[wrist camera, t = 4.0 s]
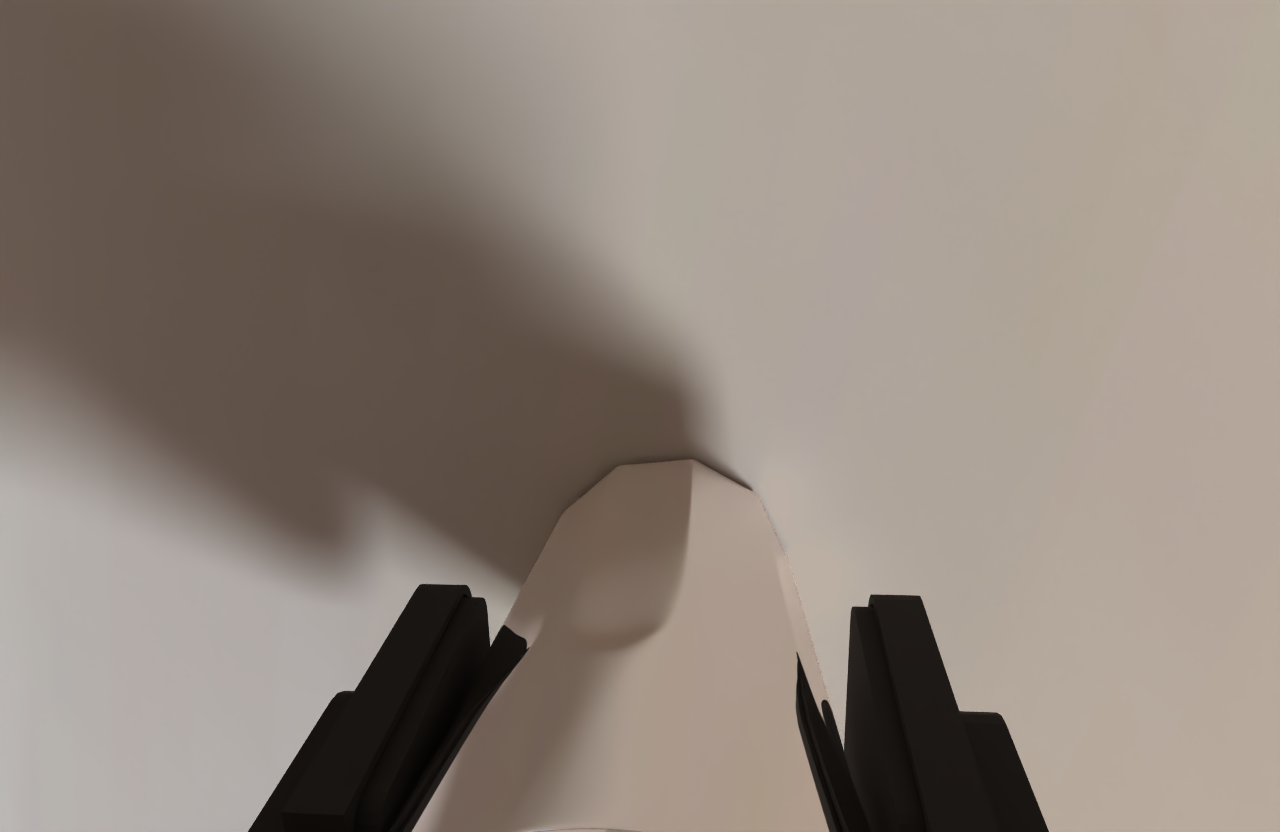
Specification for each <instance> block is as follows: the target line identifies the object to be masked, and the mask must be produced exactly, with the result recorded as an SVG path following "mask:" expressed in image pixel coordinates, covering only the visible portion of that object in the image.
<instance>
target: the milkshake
mask: <svg viewBox="0 0 1280 832" xmlns="http://www.w3.org/2000/svg"><path fill="white" fill-rule="evenodd" d="M387 832H871V830H870V827H869V824H868V821H867V818H866V815H865V812H864V810H863V807H862V804H861V801H860V798H859V796H858V793H857V791H856V788H855V786H854V783H853V780H852V777H851V774H850V771H849V767H848V764H847V760H846V757H845V753H844V750H843V747H842V743H841V740H840V736H839V733H838V729H837V726H836V722H835V719H834V715H833V712H832V708H831V705H830V701H829V698H828V694H827V691H826V687H825V684H824V680H823V677H822V673H821V670H820V666H819V663H818V659H817V656H816V652H815V649H814V645H813V642H812V638H811V635H810V631H809V628H808V624H807V621H806V617H805V614H804V610H803V607H802V603H801V600H800V596H799V593H798V589H797V586H796V582H795V579H794V576H793V572H792V569H791V565H790V562H789V559H788V557H787V555H786V553H785V551H784V549H783V547H782V544H781V542H780V540H779V538H778V536H777V534H776V532H775V529H774V527H773V525H772V523H771V521H770V519H769V516H768V514H767V512H766V510H765V508H764V505H763V503H762V501H761V499H760V497H759V495H758V494H756V493H754V492H753V491H751V490H749V489H747V488H745V487H743V486H741V485H740V484H738V483H736V482H734V481H732V480H730V479H728V478H727V477H725V476H723V475H721V474H719V473H718V472H716V471H714V470H712V469H710V468H709V467H707V466H705V465H703V464H701V463H700V462H698V461H696V460H694V459H687V460H676V461H665V462H654V463H642V464H629V465H618V466H617V467H616V468H615V469H613V470H612V471H611V472H610V473H609V474H608V475H606V476H605V477H604V478H603V479H602V480H601V481H599V482H598V483H597V484H596V485H595V486H594V487H592V488H591V489H590V490H589V491H588V492H586V493H585V494H584V495H583V496H582V497H581V498H579V499H578V500H577V501H576V502H575V503H573V504H572V505H571V506H570V507H569V508H567V509H566V510H565V511H564V512H563V514H562V515H561V517H560V519H559V521H558V522H557V524H556V526H555V528H554V530H553V532H552V534H551V535H550V537H549V539H548V541H547V543H546V545H545V547H544V548H543V550H542V552H541V554H540V556H539V558H538V560H537V561H536V563H535V565H534V567H533V569H532V571H531V573H530V574H529V576H528V578H527V580H526V582H525V584H524V586H523V587H522V589H521V591H520V593H519V595H518V597H517V599H516V600H515V602H514V604H513V606H512V608H511V610H510V612H509V613H508V615H507V617H506V619H505V621H504V623H503V625H502V626H501V628H500V630H499V632H498V634H497V636H496V638H495V640H494V641H493V643H492V645H491V647H490V649H489V651H488V653H487V654H486V656H485V658H484V660H483V662H482V664H481V666H480V668H479V669H478V671H477V673H476V675H475V677H474V679H473V681H472V683H471V685H470V686H469V688H468V690H467V692H466V694H465V696H464V698H463V700H462V702H461V704H460V706H459V707H458V709H457V711H456V713H455V715H454V717H453V719H452V721H451V722H450V724H449V726H448V728H447V730H446V731H445V733H444V735H443V737H442V739H441V740H440V742H439V744H438V746H437V747H436V749H435V751H434V752H433V754H432V756H431V758H430V759H429V761H428V763H427V764H426V766H425V768H424V770H423V771H422V773H421V775H420V776H419V778H418V780H417V781H416V783H415V785H414V786H413V788H412V790H411V792H410V793H409V795H408V797H407V798H406V800H405V802H404V803H403V805H402V807H401V809H400V810H399V812H398V814H397V815H396V817H395V819H394V820H393V822H392V824H391V825H390V827H389V829H388V831H387Z"/></svg>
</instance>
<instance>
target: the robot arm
mask: <svg viewBox="0 0 1280 832" xmlns="http://www.w3.org/2000/svg"><path fill="white" fill-rule="evenodd" d="M489 649H490V638H489V625H488V613H487V605H486V601H485V599H484V598H479V597H472V595H471V592H470V589H469V587H468V586H467V585H438V584H420V585H419V586H418V587H417V589H416V590H415V592H414V594H413V595H412V597H411V599H410V600H409V602H408V604H407V605H406V607H405V609H404V610H403V612H402V614H401V615H400V617H399V618H398V620H397V622H396V623H395V625H394V627H393V628H392V630H391V632H390V633H389V635H388V637H387V638H386V640H385V642H384V643H383V645H382V647H381V648H380V650H379V652H378V653H377V655H376V657H375V658H374V660H373V661H372V663H371V665H370V666H369V668H368V670H367V671H366V673H365V675H364V676H363V678H362V680H361V681H360V683H359V685H358V686H357V688H356V690H355V691H342V692H339V693H337V694H336V696H335V697H334V698H333V699H332V700H331V701H330V703H329V705H328V706H327V708H326V709H325V711H324V712H323V714H322V716H321V717H320V719H319V720H318V722H317V724H316V725H315V727H314V728H313V730H312V731H311V733H310V735H309V736H308V738H307V739H306V741H305V743H304V744H303V746H302V747H301V749H300V750H299V752H298V754H297V755H296V757H295V758H294V760H293V761H292V763H291V765H290V766H289V768H288V769H287V771H286V773H285V774H284V776H283V777H282V779H281V780H280V782H279V784H278V785H277V787H276V788H275V790H274V792H273V793H272V795H271V796H270V798H269V799H268V801H267V803H266V804H265V806H264V807H263V809H262V810H261V812H260V814H259V815H258V817H257V818H256V820H255V822H254V823H253V825H252V826H251V828H250V829H249V831H248V832H387V831H388V829H389V827H390V825H391V824H392V822H393V820H394V819H395V817H396V815H397V814H398V812H399V810H400V809H401V807H402V805H403V803H404V802H405V800H406V798H407V797H408V795H409V793H410V792H411V790H412V788H413V786H414V785H415V783H416V781H417V780H418V778H419V776H420V775H421V773H422V771H423V770H424V768H425V766H426V764H427V763H428V761H429V759H430V758H431V756H432V754H433V752H434V751H435V749H436V747H437V746H438V744H439V742H440V740H441V739H442V737H443V735H444V733H445V731H446V730H447V728H448V726H449V724H450V722H451V721H452V719H453V717H454V715H455V713H456V711H457V709H458V707H459V706H460V704H461V702H462V700H463V698H464V696H465V694H466V692H467V690H468V688H469V686H470V685H471V683H472V681H473V679H474V677H475V675H476V673H477V671H478V669H479V668H480V666H481V664H482V662H483V660H484V658H485V656H486V654H487V653H488V651H489ZM844 753H845V757H846V760H847V764H848V767H849V771H850V774H851V777H852V780H853V783H854V786H855V788H856V791H857V793H858V796H859V798H860V801H861V804H862V807H863V810H864V812H865V815H866V818H867V821H868V824H869V827H870V830H871V832H1049V831H1048V828H1047V826H1046V823H1045V821H1044V818H1043V816H1042V813H1041V811H1040V808H1039V806H1038V803H1037V801H1036V798H1035V796H1034V793H1033V791H1032V788H1031V786H1030V783H1029V781H1028V778H1027V776H1026V773H1025V771H1024V768H1023V766H1022V763H1021V761H1020V758H1019V756H1018V753H1017V751H1016V748H1015V745H1014V743H1013V740H1012V738H1011V735H1010V733H1009V730H1008V728H1007V725H1006V723H1005V721H1004V720H1003V718H1002V716H1001V715H1000V714H998V713H993V712H963V711H959V709H958V706H957V703H956V700H955V697H954V694H953V691H952V688H951V685H950V682H949V679H948V676H947V673H946V670H945V667H944V664H943V661H942V658H941V655H940V652H939V649H938V646H937V644H936V641H935V638H934V635H933V632H932V629H931V626H930V623H929V620H928V617H927V614H926V611H925V608H924V605H923V602H922V599H921V597H920V596H911V595H871V596H870V598H869V604H868V607H852V610H851V620H850V640H849V660H848V681H847V701H846V721H845V742H844Z"/></svg>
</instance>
